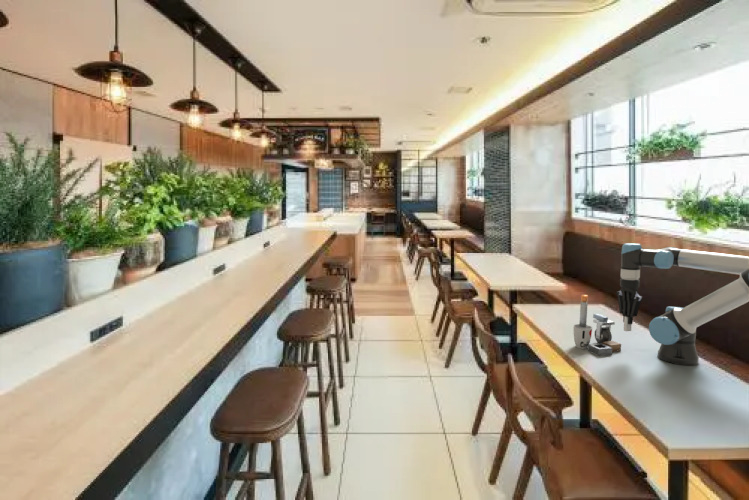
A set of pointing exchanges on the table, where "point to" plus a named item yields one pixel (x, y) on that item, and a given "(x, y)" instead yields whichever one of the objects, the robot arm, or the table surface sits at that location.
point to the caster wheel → (602, 328)
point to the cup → (582, 336)
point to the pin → (583, 310)
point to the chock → (613, 345)
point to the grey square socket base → (600, 349)
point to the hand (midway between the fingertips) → (627, 330)
